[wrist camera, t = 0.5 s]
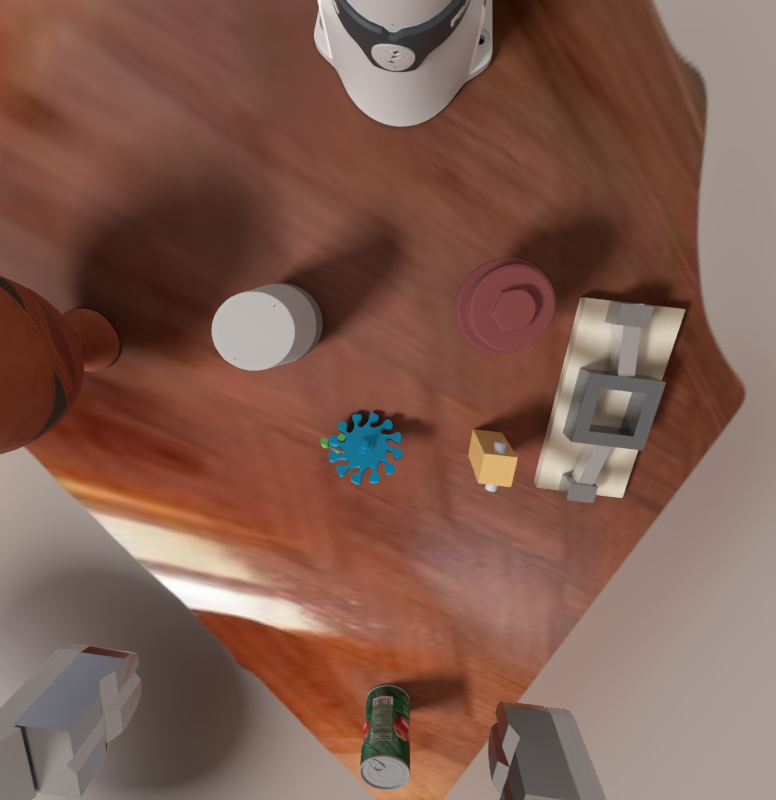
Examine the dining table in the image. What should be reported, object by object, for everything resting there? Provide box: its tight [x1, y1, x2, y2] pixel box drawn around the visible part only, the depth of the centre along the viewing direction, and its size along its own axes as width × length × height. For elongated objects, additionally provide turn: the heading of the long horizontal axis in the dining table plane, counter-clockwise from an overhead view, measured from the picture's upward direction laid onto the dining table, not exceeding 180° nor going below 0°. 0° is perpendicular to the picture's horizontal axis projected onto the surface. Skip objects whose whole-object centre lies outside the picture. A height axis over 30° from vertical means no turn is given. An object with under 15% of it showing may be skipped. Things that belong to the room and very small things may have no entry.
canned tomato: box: [359, 684, 410, 790], centre depth 64 cm, size 8×8×11 cm
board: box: [534, 297, 686, 498], centre depth 50 cm, size 26×12×2 cm, turn 174°
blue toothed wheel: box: [320, 413, 403, 485], centre depth 52 cm, size 11×6×10 cm
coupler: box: [468, 429, 518, 492], centre depth 50 cm, size 6×4×8 cm, turn 174°
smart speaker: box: [212, 283, 323, 370], centre depth 43 cm, size 10×9×14 cm
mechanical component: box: [456, 257, 556, 354], centre depth 42 cm, size 12×10×10 cm
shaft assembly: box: [558, 302, 666, 503], centre depth 48 cm, size 26×9×3 cm, turn 174°
